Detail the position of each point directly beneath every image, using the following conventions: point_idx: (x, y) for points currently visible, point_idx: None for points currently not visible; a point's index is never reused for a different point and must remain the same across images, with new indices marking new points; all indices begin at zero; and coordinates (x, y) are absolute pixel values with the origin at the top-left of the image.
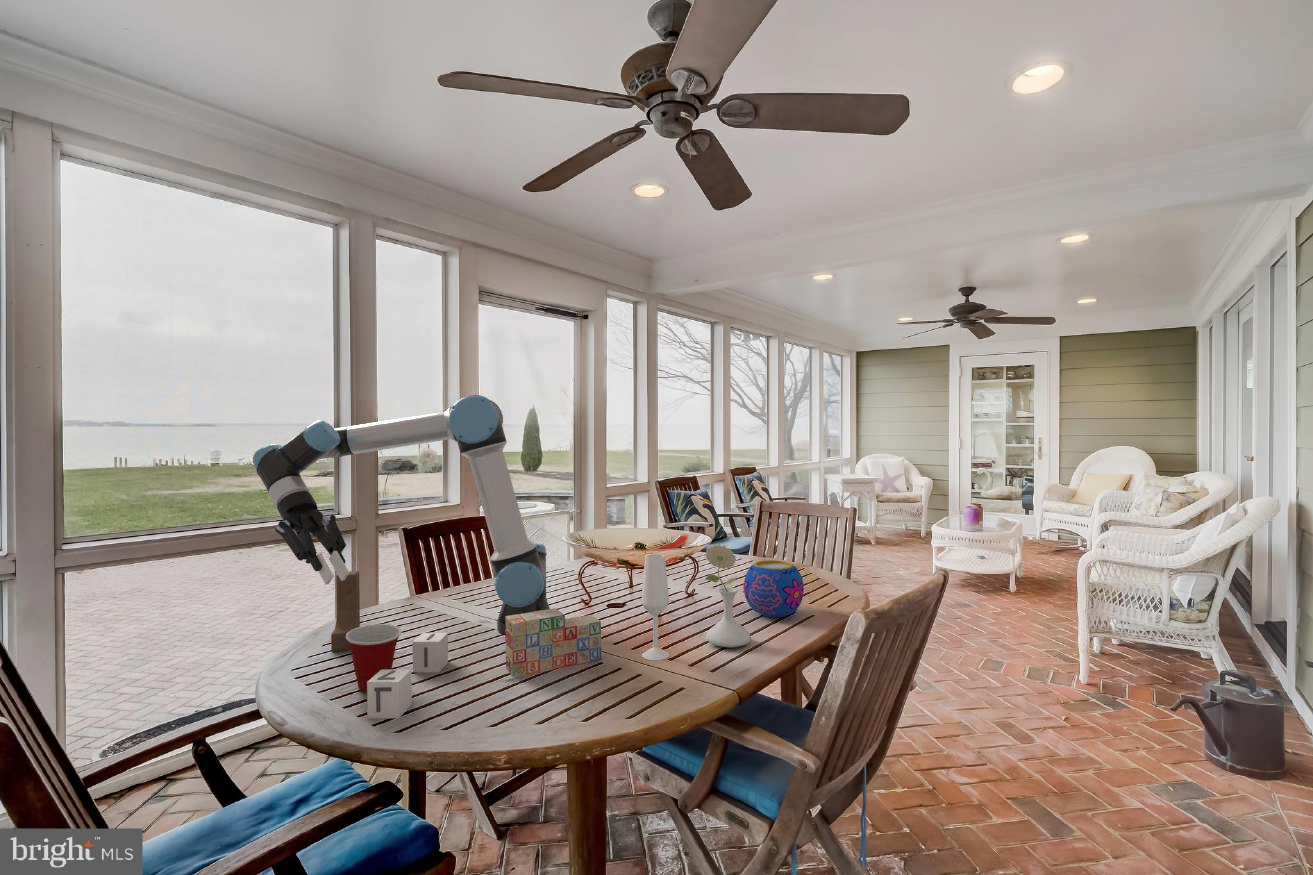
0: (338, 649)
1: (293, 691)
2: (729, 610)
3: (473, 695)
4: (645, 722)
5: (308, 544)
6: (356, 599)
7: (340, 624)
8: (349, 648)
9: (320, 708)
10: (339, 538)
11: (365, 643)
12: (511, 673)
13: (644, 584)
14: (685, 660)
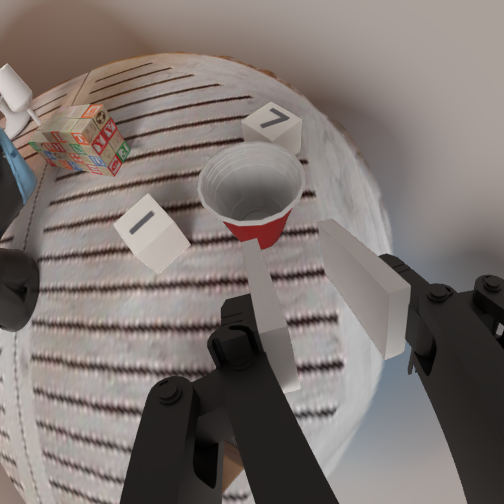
0: (237, 448)
1: None
2: (8, 108)
3: (187, 133)
4: (151, 57)
5: (495, 343)
6: None
7: None
8: None
9: (340, 212)
10: (166, 462)
11: (282, 147)
12: (125, 156)
13: (17, 86)
14: (52, 114)
